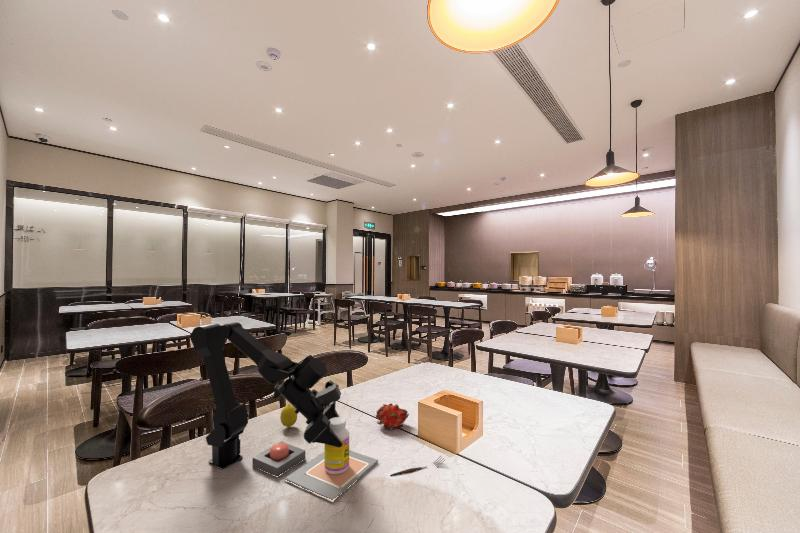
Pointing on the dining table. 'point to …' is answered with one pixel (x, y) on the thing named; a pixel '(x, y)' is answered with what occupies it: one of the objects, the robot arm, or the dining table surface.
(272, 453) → the button
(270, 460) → the button frame
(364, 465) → the picture board
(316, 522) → the dining table surface
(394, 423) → the dragon fruit
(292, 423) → the lemon
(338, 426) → the supplement bottle
